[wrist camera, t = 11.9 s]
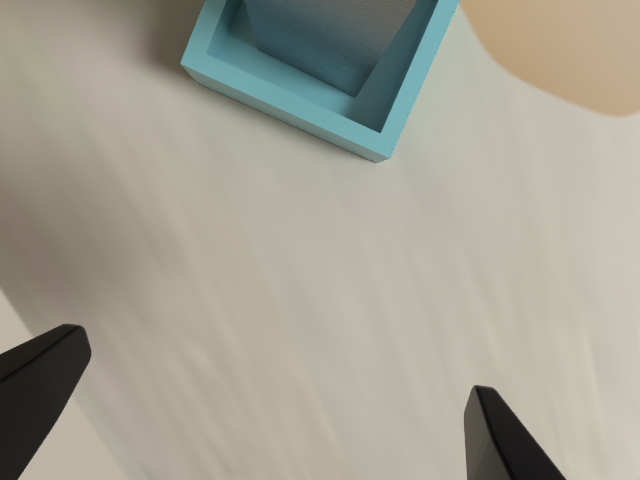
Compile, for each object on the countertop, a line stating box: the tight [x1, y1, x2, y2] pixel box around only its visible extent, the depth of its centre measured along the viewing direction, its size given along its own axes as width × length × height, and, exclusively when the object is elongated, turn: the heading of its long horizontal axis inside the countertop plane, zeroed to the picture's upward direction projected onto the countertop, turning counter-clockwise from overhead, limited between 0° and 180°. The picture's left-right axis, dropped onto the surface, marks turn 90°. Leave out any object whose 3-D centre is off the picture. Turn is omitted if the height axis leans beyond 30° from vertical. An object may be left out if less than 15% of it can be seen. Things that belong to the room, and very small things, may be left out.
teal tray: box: [180, 0, 459, 163], centre depth 19 cm, size 10×10×3 cm
